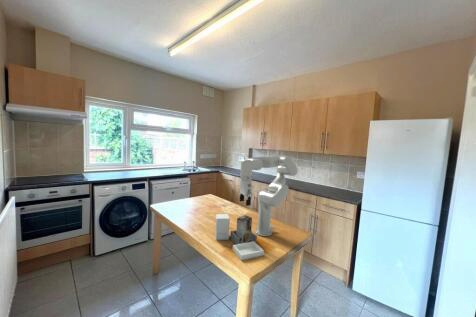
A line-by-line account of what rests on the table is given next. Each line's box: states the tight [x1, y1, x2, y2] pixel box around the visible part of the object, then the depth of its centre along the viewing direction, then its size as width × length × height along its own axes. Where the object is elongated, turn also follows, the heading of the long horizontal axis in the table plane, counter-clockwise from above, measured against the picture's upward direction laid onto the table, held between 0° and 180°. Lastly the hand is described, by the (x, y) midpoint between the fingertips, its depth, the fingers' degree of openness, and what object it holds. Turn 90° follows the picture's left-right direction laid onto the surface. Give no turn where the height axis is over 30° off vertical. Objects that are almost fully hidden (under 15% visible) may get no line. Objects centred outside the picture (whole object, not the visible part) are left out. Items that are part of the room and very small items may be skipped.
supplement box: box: [214, 213, 230, 241], centre depth 136 cm, size 9×9×15 cm
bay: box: [229, 229, 258, 245], centre depth 133 cm, size 14×12×5 cm
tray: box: [232, 241, 265, 261], centre depth 118 cm, size 15×12×3 cm
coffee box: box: [236, 214, 253, 244], centre depth 132 cm, size 9×6×16 cm
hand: (244, 203), depth 131 cm, fingers open, 9 cm apart
